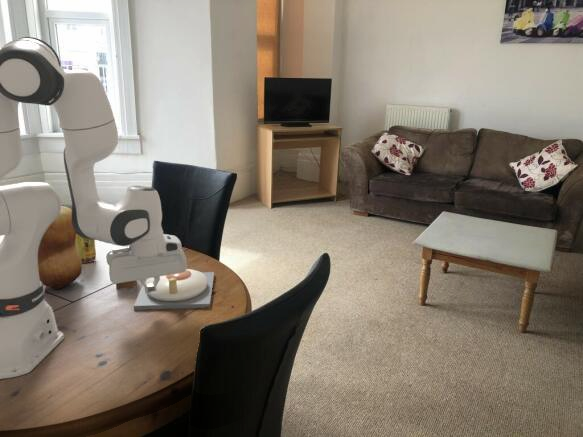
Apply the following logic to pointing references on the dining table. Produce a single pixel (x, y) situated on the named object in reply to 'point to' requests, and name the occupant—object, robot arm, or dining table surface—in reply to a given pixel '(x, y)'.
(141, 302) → the base board
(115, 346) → the dining table surface
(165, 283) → the white low round dome
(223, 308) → the dining table surface
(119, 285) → the walnut block
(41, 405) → the dining table surface
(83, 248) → the sauce bottle
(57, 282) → the butternut squash
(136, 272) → the robot arm
